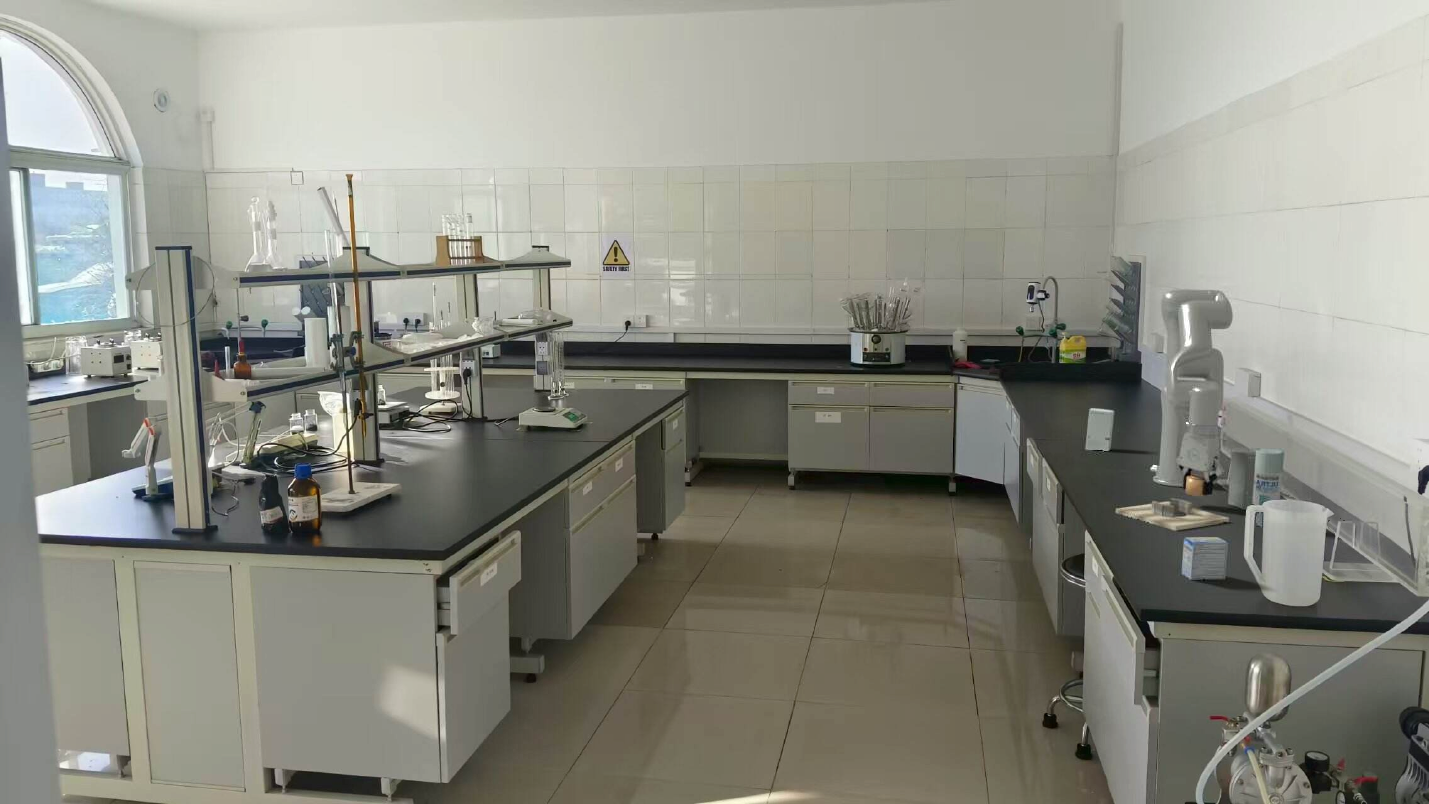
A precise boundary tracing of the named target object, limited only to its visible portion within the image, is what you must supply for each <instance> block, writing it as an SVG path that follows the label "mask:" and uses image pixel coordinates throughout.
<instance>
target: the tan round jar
mask: <svg viewBox="0 0 1429 804" xmlns="http://www.w3.org/2000/svg"><path fill="white" fill-rule="evenodd" d="M1204 481H1206V480H1205V476H1204V474H1195V473H1192V475H1190V476H1187V481H1186V489H1185V494H1187V495H1189V496H1194V497H1207V496H1209V495H1203V494H1202V493H1203V482H1204Z"/></svg>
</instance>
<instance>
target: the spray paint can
mask: <svg viewBox="0 0 1429 804" xmlns="http://www.w3.org/2000/svg"><path fill="white" fill-rule="evenodd" d="M1255 451H1256V460H1255V474H1254V488H1253V502H1252V504H1254V505H1261V504H1263V503H1264V502H1266V501H1268V500H1276V499H1280V500H1281V491H1282V481H1283V472H1284V471H1283V469H1284V461H1285V460H1284V459H1285V452H1284V451H1283V450H1279V449H1272V448H1258V449H1256V450H1255ZM1256 523H1257V525H1258V526H1260V527H1259V528H1260V529H1263V528H1262V513H1261V512H1259V514H1257V516H1256Z"/></svg>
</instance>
